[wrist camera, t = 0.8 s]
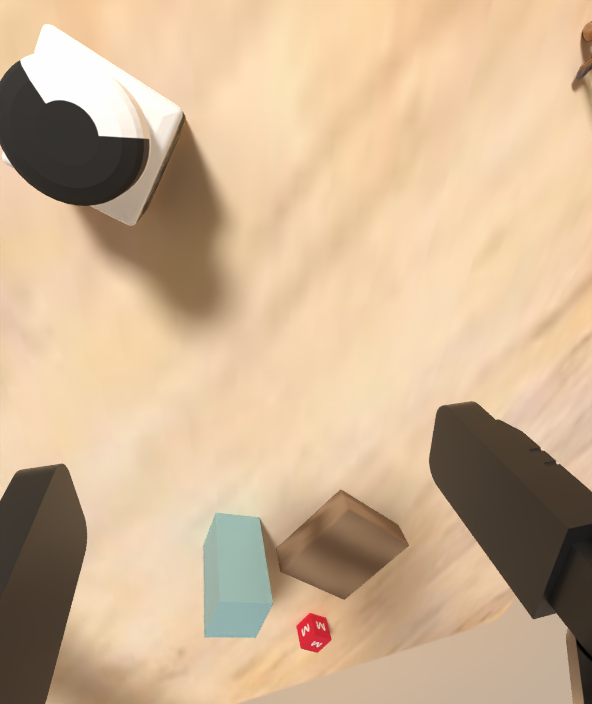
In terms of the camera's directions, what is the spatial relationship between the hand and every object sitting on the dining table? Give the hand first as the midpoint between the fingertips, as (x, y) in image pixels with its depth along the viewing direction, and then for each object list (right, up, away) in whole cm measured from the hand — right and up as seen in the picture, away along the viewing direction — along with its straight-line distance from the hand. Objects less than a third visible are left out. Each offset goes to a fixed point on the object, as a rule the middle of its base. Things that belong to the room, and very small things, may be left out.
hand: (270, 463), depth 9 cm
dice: (+3, -35, +49) cm, 60 cm away
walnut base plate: (+6, -20, +42) cm, 47 cm away
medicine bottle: (-12, +17, +19) cm, 28 cm away
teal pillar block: (-7, -18, +38) cm, 42 cm away
